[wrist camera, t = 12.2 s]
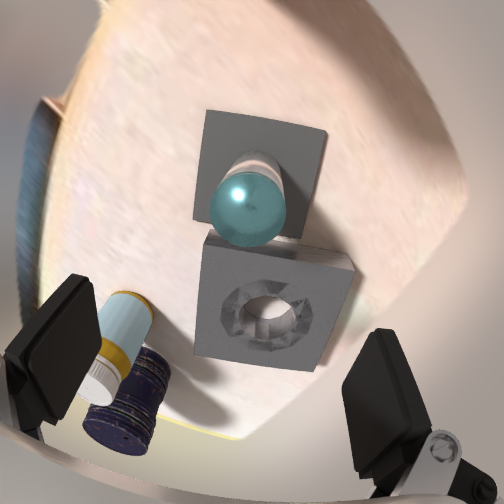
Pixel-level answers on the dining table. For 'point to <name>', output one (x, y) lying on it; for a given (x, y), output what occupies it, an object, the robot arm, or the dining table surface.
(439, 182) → the dining table surface
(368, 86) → the dining table surface
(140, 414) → the storage jar
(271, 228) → the plug
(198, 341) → the housing
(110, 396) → the bottle
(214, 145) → the mat
